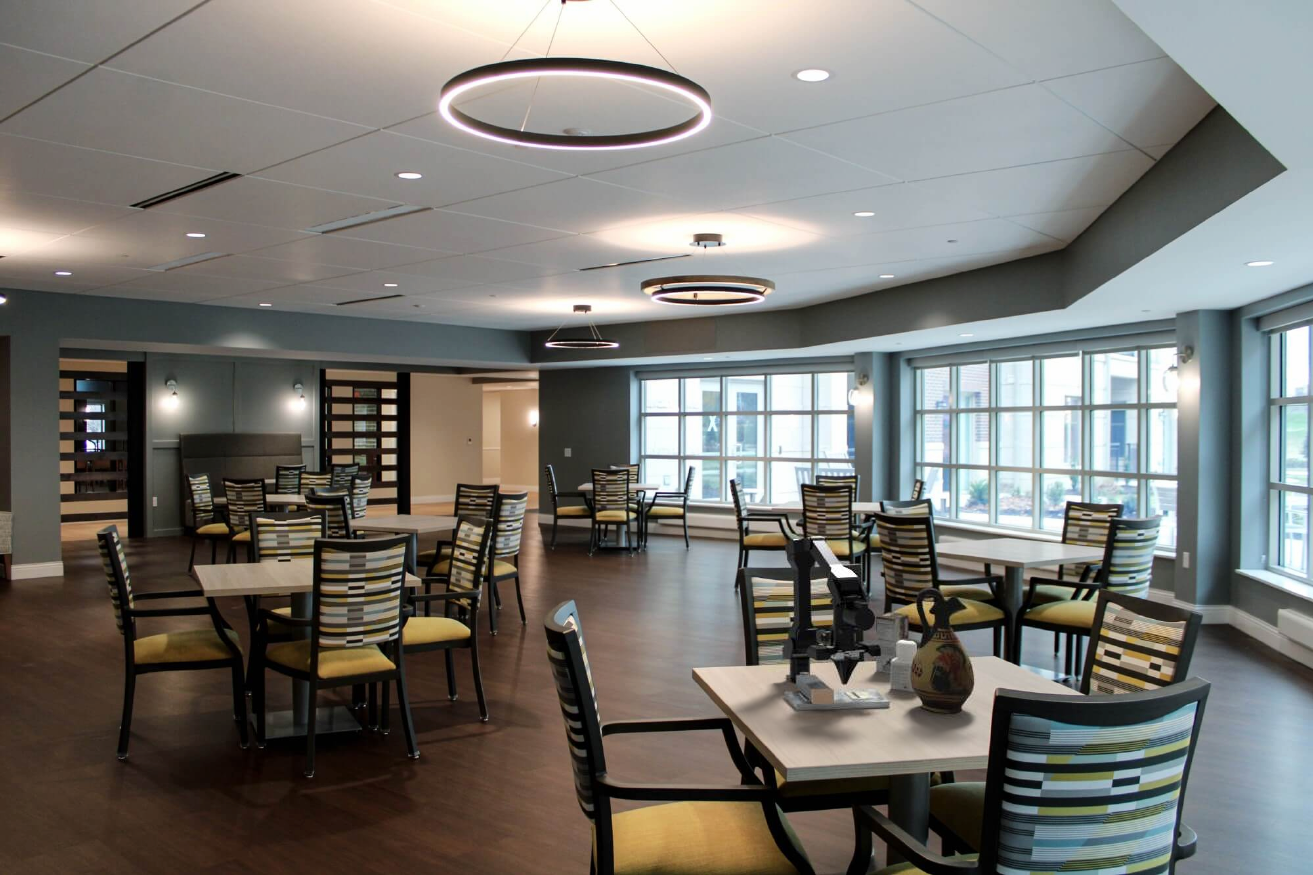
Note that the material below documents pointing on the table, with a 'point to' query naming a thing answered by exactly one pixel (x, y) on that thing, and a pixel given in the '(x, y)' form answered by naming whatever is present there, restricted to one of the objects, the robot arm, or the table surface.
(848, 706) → the panel
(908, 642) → the container
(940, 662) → the ceramic jug
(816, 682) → the swing bar
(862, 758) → the table surface
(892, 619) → the coffee box
